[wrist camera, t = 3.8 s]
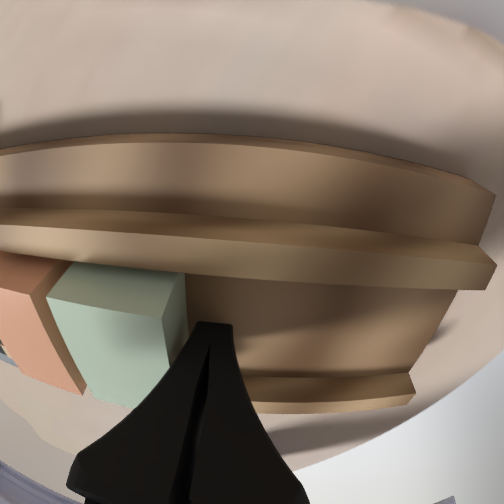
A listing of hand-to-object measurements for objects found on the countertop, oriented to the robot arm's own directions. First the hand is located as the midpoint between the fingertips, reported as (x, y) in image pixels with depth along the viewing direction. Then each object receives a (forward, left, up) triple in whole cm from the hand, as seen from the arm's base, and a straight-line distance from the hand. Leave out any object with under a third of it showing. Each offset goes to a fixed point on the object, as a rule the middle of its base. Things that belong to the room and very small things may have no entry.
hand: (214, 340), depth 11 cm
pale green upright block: (-2, +2, -1) cm, 3 cm away
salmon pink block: (-6, +6, -1) cm, 8 cm away
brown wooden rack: (-1, +1, -3) cm, 3 cm away
